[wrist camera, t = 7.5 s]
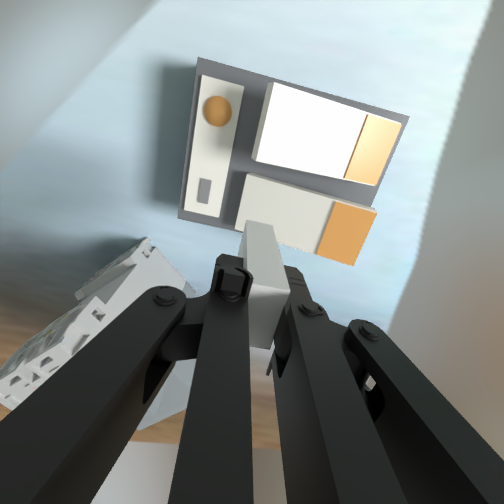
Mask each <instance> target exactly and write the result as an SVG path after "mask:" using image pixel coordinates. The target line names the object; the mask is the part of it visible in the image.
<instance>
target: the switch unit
mask: <svg viewBox="0 0 504 504" xmlns="http://www.w3.org/2000/svg"><path fill="white" fill-rule="evenodd" d="M272 82H275V83H279V84H282V85H285V86H288V87H291V88H294V89H297V90H300V91H303V92H306V93H309V94H313V95H316V96H319V97H322V98H325V99H328V100H331V101H334V102H337V103H340V104H343V105H346V106H350V107H353V108H356V109H359V110H362V111H365V112H368V113H371V114H374V115H377V116H380V117H383V118H387V119H390V120H393V121H396V122H399V123H401V125H402V126H401V128H400V131H399V133H398V135H397V138H396V140H395V142H394V145H393V147H392V149H391V152H390V154H389V156H388V159H387V161H386V163H385V166H384V168H383V170H382V173H381V175H380V177H379V180H378V182H377V184H376V185H375V186H372V185H367V184H362V183H357V182H353V181H348V180H343V179H338V178H334V177H329V176H324V175H319V174H315V173H310V172H305V171H300V170H296V169H291V168H286V167H281V166H277V165H272V164H267V163H262V162H258V161H255V160H254V159H252V158H251V156H252V152H253V148H254V143H255V139H256V134H257V130H258V125H259V121H260V116H261V112H262V107H263V103H264V99H265V94H266V90H267V85H268V83H272ZM409 117H410V116H406V115H403V114H399V113H396V112H392V111H388V110H385V109H381V108H378V107H374V106H371V105H367V104H364V103H360V102H357V101H353V100H349V99H346V98H342V97H339V96H335V95H332V94H328V93H325V92H321V91H318V90H314V89H310V88H307V87H303V86H300V85H296V84H293V83H289V82H286V81H282V80H278V79H275V78H271V77H268V76H264V75H261V74H257V73H254V72H250V71H247V70H243V69H239V68H236V67H232V66H229V65H225V64H222V63H218V62H215V61H211V60H208V59H204V58H200V57H198V60H197V68H196V76H195V83H194V91H193V99H192V107H191V115H190V123H189V131H188V139H187V147H186V155H185V163H184V171H183V179H182V186H181V194H180V202H179V210H178V219H182V220H187V221H191V222H196V223H200V224H205V225H210V226H214V227H219V228H223V229H228V230H232V231H237V232H242V233H243V231H239V230H236V229H235V225H236V220H237V216H238V211H239V207H240V202H241V198H242V193H243V189H244V184H245V180H246V175H247V174H248V173H254V174H258V175H261V176H265V177H268V178H271V179H275V180H278V181H282V182H285V183H289V184H292V185H296V186H299V187H303V188H306V189H310V190H313V191H317V192H320V193H324V194H327V195H331V196H334V197H337V198H341V199H344V200H348V201H351V202H355V203H358V204H362V205H365V206H369V207H371V205H372V202H373V200H374V198H375V195H376V193H377V191H378V188H379V186H380V184H381V182H382V179H383V177H384V175H385V172H386V170H387V168H388V165H389V163H390V161H391V159H392V156H393V154H394V152H395V149H396V147H397V145H398V142H399V140H400V138H401V136H402V133H403V131H404V129H405V126H406V124H407V122H408V119H409Z"/></svg>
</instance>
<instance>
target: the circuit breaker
mask: <svg viewBox="0 0 504 504" xmlns="http://www.w3.org/2000/svg"><path fill="white" fill-rule="evenodd" d="M149 241H150V239H149V238H148V237H147V238H146V239H144V240H143V241H141V242H140V243H138V244H137V245H135V246H134V247H132V248H131V249H129V250H128V251H127V252H125V253H124V254H122V255H121V256H119V257H118V258H116V259H115V260H113V261H112V262H110V263H109V264H107V265H106V266H105V267H103V268H102V269H100V270H99V271H97V272H96V274H95V275H94V276H93V277H92V278H90V279H89V280H88V281H87V282H86V283H85V284H84V285H83V286H82V287H81V288H80V289H79V290H78V291H77V292H76V293H75V294H74V296H75V297H76V299H77V300H78V301H79V300H81V302H80V303H79V304H78V305H77V306H76V307H75V308H73V309H72V310H70V311H69V312H67V313H66V314H64V315H63V316H61V317H60V318H58V319H56V320H55V321H53V322H52V323H50V324H49V325H48V326H47V327H46V328H45V329H44V330H43V331H41V332H40V333H38V334H37V335H35V336H34V337H32V338H31V339H29V340H27V341H26V342H25V343H24V344H23V345H22V346H21V347H20V348H19V349H18V350H17V351H16V352H15V353H14V354H13V355H12V356H11V357H10V358H9V359H8V360H7V361H6V362H5V363H4V364H3V366H2V367H1V368H0V403H1V404H2V405H4V406H6V407H7V408H9V409H10V410H12V411H13V410H14V409H15V408H16V407H17V406H18V405H19V404H20V403H22V402H23V401H24V400H25V399H26V398H27V397H28V396H29V395H30V394H32V393H33V392H34V391H35V390H36V389H37V388H38V387H39V386H40V385H42V384H43V383H44V382H45V381H46V380H47V379H48V378H49V377H50V376H52V375H53V374H54V373H55V372H56V371H57V370H58V369H59V368H60V367H62V366H63V365H64V364H65V363H66V362H67V361H68V360H69V359H70V358H72V357H73V356H74V355H75V354H76V353H77V352H78V351H79V350H80V349H82V348H83V347H84V346H85V345H86V344H87V343H88V342H89V341H90V340H92V339H93V338H94V337H95V336H96V335H97V334H98V333H99V332H100V331H102V330H103V329H104V328H105V327H106V326H107V325H108V324H109V323H110V322H112V321H113V320H114V319H115V318H116V317H117V316H118V315H119V314H120V313H122V312H123V311H124V310H125V309H126V308H127V307H128V306H129V305H130V304H132V303H133V302H134V301H135V300H136V299H137V298H138V297H139V296H140V295H142V294H143V293H144V292H145V291H146V290H148V289H150V288H151V287H155V286H163V285H164V286H166V285H167V286H172V287H176V288H178V289H180V290H182V291H183V292H184V293H185V294H186V298H194V295H195V290H194V289H193V288H192V287H191V285H190V284H189V283H188V282H187V281H186V280H185V279H184V278H183V276H182V275H181V274H180V273H179V272H178V271H177V270H176V269H175V267H174V266H173V265H172V264H171V263H170V262H169V261H168V260H167V258H166V257H165V256H164V255H163V254H162V253H161V252H160V251H159V249H158V248H157V247H155V248H152V246H151V245H150V244H149V243H148V242H149ZM195 363H196V359H189V360H181V361H176V364H175V366H174V368H173V370H172V371H171V373H170V375H169V376H168V378H167V379H166V381H165V383H164V384H163V386H162V388H161V389H160V391H159V393H158V394H157V396H156V397H155V399H154V401H153V402H152V404H151V406H150V407H149V409H148V410H147V412H146V414H145V415H144V417H143V419H142V420H141V422H140V423H139V425H138V427H137V428H136V429H137V430H139V431H140V430H142V429H144V428H146V427H148V426H150V425H152V424H155V423H157V422H159V421H161V420H163V419H165V418H167V417H169V416H172V415H174V414H176V413H178V412H180V411H182V410H184V409H186V408H187V403H188V398H189V393H190V388H191V383H192V378H193V373H194V368H195Z"/></svg>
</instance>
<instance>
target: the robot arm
mask: <svg viewBox="0 0 504 504" xmlns="http://www.w3.org/2000/svg"><path fill="white" fill-rule="evenodd" d="M273 339H274V344H275V349H274V352H273V354H272V357H271V360H270V363H269V365H268V368H267V372H266V375H268V376H269V374H270V371H271V369H272V371H273V380H274V389H275V398H276V407H277V416H278V425H279V434H280V443H281V452H282V461H283V471H284V479H285V488H286V497H287V504H504V461H503V460H502V458H501V457H500V456H499V455H498V454H497V453H496V452H495V451H494V450H493V449H492V448H491V447H490V446H489V444H488V443H487V442H486V441H485V440H484V439H483V438H482V437H481V436H480V435H479V434H478V433H477V431H476V430H475V429H474V428H473V427H472V426H471V425H470V424H469V423H468V422H467V421H466V420H465V419H464V418H463V417H462V415H461V414H460V413H459V412H458V411H457V410H456V409H455V408H454V407H453V406H452V405H451V404H450V402H449V401H447V399H446V398H445V397H444V396H443V395H442V394H441V393H440V392H439V391H438V390H437V389H436V387H435V386H434V385H433V384H432V383H431V382H430V381H429V380H428V379H427V378H426V377H425V376H424V374H423V373H422V372H421V371H419V369H418V368H417V367H416V366H415V365H414V364H413V363H412V362H411V360H410V359H409V358H408V357H407V356H406V355H405V354H404V353H403V352H402V351H401V350H400V349H399V348H398V347H397V345H396V344H395V343H394V342H393V341H392V340H391V339H390V338H389V337H388V336H387V335H386V334H385V333H384V332H383V331H382V330H381V329H380V328H379V327H377V326H376V325H374V324H373V323H371V322H368V321H365V320H360V319H355V320H352V321H351V322H350V323H349V325H348V327H345V326H342V325H340V324H337V323H335V322H333V321H330V320H329V317H328V315H327V313H326V311H325V310H324V308H323V307H321V306H320V305H319V304H318V303H316V302H314V301H312V298H311V295H310V293H309V290H308V288H307V285H306V282H305V280H304V277H303V274H302V273H301V272H300V271H299V270H298V269H297V268H295V267H290V266H285V265H283V262H282V258H281V254H280V251H279V247H278V243H277V240H276V236H275V232H274V229H273V225H269V224H265V223H260V222H256V221H251V220H247V219H246V223H245V227H244V231H243V235H242V240H241V244H240V248H239V252H238V256H237V257H236V256H231V255H226V254H221V255H220V256H219V257H217V259H216V264H215V269H214V274H213V279H212V283H211V288H210V291H209V292H208V293H207V294H205V295H203V296H201V297H196V298H186V294H185V293H184V292H183V291H182V290H180V289H178V288H176V287H172V286H167V285H166V286H164V285H163V286H155V287H151V288H150V289H148V290H146V291H145V292H144V293H143V294H142V295H140V296H139V297H138V298H137V299H136V300H135V301H134V302H133V303H132V304H130V305H129V306H128V307H127V308H126V309H125V310H124V311H123V312H122V313H120V314H119V315H118V316H117V317H116V318H115V319H114V320H113V321H112V322H110V323H109V324H108V325H107V326H106V327H105V328H104V329H103V330H102V331H100V332H99V333H98V334H97V335H96V336H95V337H94V338H93V339H92V340H90V341H89V342H88V343H87V344H86V345H85V346H84V347H83V348H82V349H80V350H79V351H78V352H77V353H76V354H75V355H74V356H73V357H72V358H70V359H69V360H68V361H67V362H66V363H65V364H64V365H63V366H62V367H60V368H59V369H58V370H57V371H56V372H55V373H54V374H53V375H52V376H50V377H49V378H48V379H47V380H46V381H45V382H44V383H43V384H42V385H40V386H39V387H38V388H37V389H36V390H35V391H34V392H33V393H32V394H30V395H29V396H28V397H27V398H26V399H25V400H24V401H23V402H22V403H20V404H19V405H18V406H17V407H16V408H15V409H14V410H13V411H12V412H10V413H9V414H8V415H7V416H6V417H5V418H4V419H3V420H2V421H0V504H90V503H91V502H92V500H93V498H94V496H95V495H96V493H97V492H98V490H99V489H100V487H101V485H102V484H103V482H104V481H105V479H106V477H107V476H108V474H109V472H110V471H111V469H112V467H113V466H114V464H115V463H116V461H117V459H118V457H119V456H120V454H121V453H122V451H123V450H124V448H125V446H126V445H127V443H128V441H129V440H130V438H131V437H132V435H133V433H134V432H135V430H136V428H137V427H138V425H139V423H140V422H141V420H142V419H143V417H144V415H145V414H146V412H147V410H148V409H149V407H150V406H151V404H152V402H153V401H154V399H155V397H156V396H157V394H158V393H159V391H160V389H161V388H162V386H163V384H164V383H165V381H166V379H167V378H168V376H169V375H170V373H171V371H172V370H173V368H174V366H175V364H176V361H181V360H189V359H196V363H195V368H194V373H193V378H192V383H191V388H190V393H189V398H188V403H187V408H186V413H185V418H184V423H183V429H182V434H181V439H180V444H179V449H178V454H177V459H176V464H175V469H174V474H173V479H172V484H171V489H170V494H169V499H168V504H253V503H254V501H253V465H252V426H251V389H250V351H249V346H251V347H257V348H263V349H269V350H270V348H271V345H272V342H273ZM370 375H371V377H372V378H373V379H374V381H375V382H376V384H375V386H374V388H373V389H372V390H370V389H369V388H368V387H367V385H366V384H365V383H366V381H367V380H368V378H369V376H370Z"/></svg>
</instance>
